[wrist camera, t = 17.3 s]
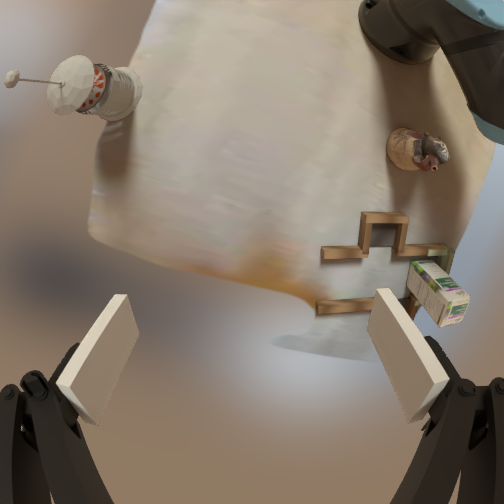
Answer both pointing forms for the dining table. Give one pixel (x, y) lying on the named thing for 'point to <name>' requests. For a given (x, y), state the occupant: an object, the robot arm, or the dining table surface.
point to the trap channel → (392, 234)
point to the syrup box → (437, 292)
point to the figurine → (416, 150)
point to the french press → (89, 88)
